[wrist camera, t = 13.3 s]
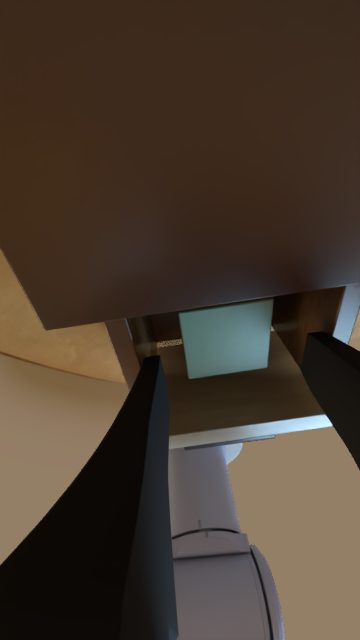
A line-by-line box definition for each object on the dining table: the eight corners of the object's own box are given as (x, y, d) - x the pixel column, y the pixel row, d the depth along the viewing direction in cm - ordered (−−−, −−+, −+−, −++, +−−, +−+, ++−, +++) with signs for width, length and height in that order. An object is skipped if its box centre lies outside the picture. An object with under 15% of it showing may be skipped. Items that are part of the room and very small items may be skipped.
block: (245, 323, 16) (268, 368, 12) (182, 332, 16) (188, 379, 12) (246, 263, 13) (274, 298, 10) (173, 274, 14) (177, 312, 10)
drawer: (278, 381, 21) (323, 466, 15) (153, 399, 21) (152, 490, 15) (310, 129, 11) (464, 102, 6) (85, 164, 11) (13, 173, 6)
